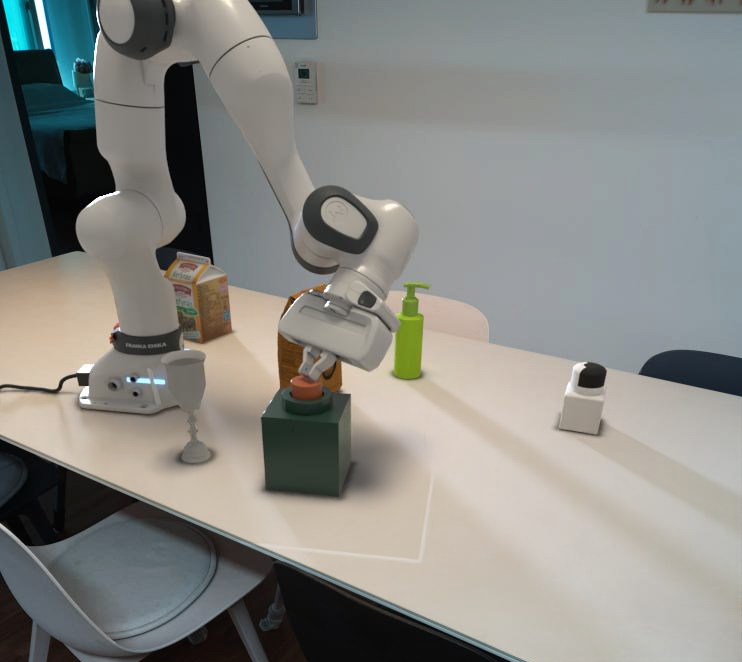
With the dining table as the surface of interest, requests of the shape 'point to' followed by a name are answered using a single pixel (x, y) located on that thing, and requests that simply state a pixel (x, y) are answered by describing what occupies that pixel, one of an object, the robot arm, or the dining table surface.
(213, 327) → the milk carton
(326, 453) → the push button housing
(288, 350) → the coffee package
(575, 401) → the medicine bottle
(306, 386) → the red push button
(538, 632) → the dining table surface
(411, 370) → the soap dispenser
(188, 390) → the chalice
